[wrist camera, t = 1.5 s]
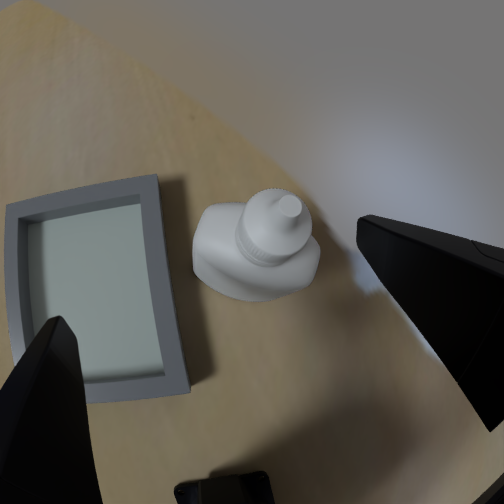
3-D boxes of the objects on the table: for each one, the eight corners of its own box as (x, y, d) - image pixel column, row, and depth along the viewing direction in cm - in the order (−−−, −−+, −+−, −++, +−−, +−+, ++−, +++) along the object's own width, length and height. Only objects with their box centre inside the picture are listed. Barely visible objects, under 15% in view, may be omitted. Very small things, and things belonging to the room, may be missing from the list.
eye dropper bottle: (242, 327, 20) (305, 331, 8) (183, 262, 20) (169, 180, 9) (290, 282, 21) (393, 231, 10) (233, 220, 21) (275, 108, 10)
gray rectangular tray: (190, 386, 18) (190, 392, 16) (36, 398, 16) (22, 404, 14) (159, 186, 21) (157, 173, 19) (18, 214, 19) (6, 204, 17)
